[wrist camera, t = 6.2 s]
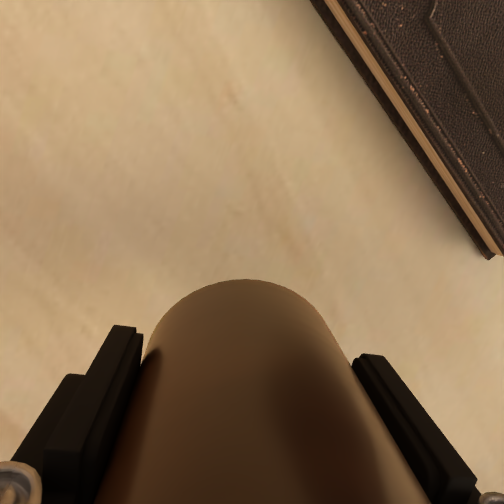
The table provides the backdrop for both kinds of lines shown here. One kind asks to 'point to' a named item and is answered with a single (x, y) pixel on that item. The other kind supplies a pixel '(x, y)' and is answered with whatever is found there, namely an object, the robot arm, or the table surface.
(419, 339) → the table surface
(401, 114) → the hardcover book
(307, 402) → the walnut cylinder
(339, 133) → the table surface
